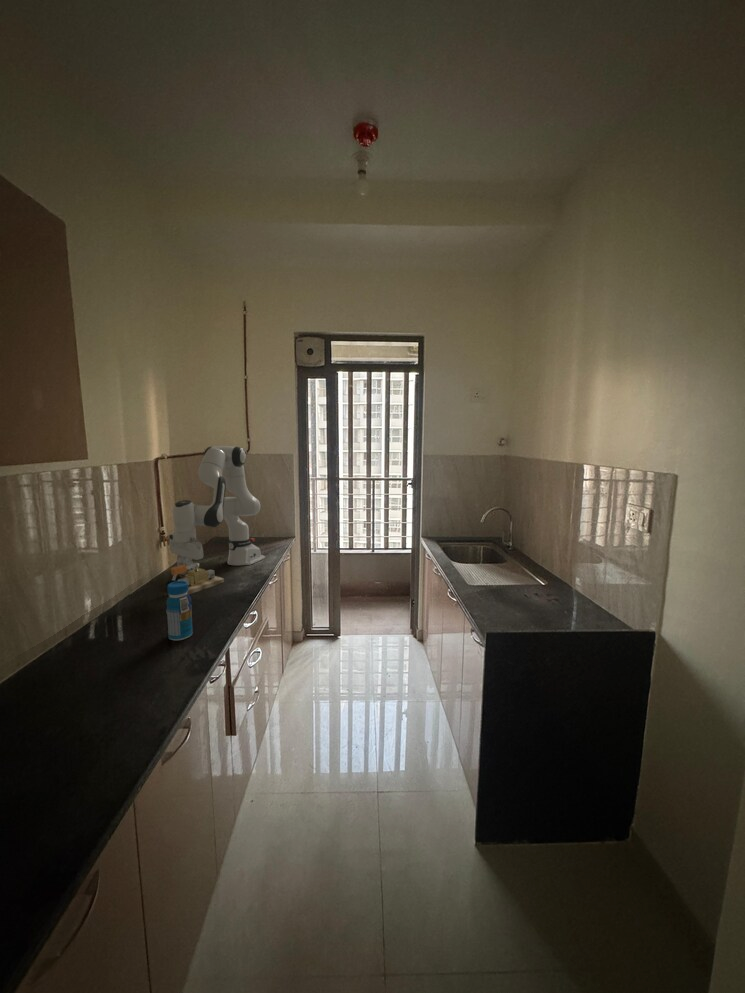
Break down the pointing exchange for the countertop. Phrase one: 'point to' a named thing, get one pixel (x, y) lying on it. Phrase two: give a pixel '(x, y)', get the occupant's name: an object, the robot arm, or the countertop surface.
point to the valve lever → (182, 568)
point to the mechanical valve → (182, 575)
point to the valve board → (205, 585)
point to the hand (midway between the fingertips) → (187, 565)
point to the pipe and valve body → (198, 576)
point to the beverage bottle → (179, 611)
